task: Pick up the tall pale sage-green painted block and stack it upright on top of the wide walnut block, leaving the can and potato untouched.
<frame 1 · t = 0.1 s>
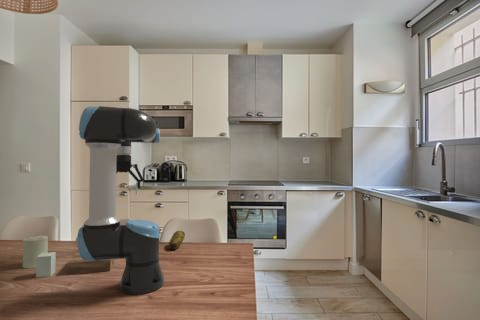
hand: (123, 195, 148), 28 cm above the table, tool pointing down, fingers open, 13 cm apart
sage block: (45, 274, 113), on the table
walnut block: (93, 266, 123), on the table
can: (35, 264, 125), on the table
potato: (176, 247, 152), on the table
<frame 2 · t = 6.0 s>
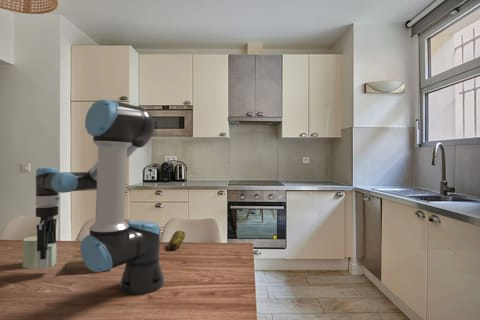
hand: (46, 264, 113), 4 cm above the table, tool pointing down, fingers closed on sage block, 5 cm apart
sage block: (46, 265, 113), point 4 cm above the table, touching gripper
everything else where it was.
when the fingers open (6 cm above the table, at t = 11.8 s): sage block stays where it is, point 4 cm above the table.
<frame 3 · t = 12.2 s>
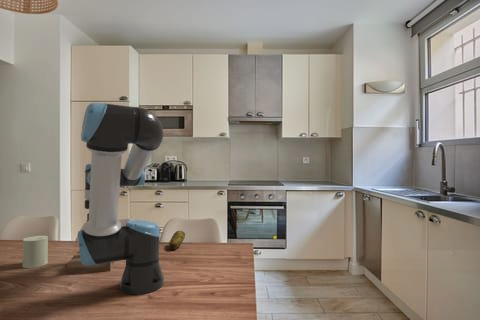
hand: (93, 249, 124), 7 cm above the table, tool pointing down, fingers open, 10 cm apart
sage block: (93, 255, 123), point 4 cm above the table
everything else where it was.
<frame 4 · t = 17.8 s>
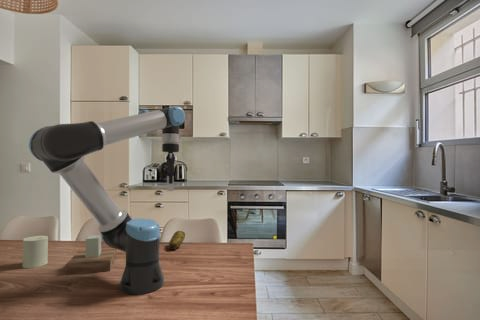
hand: (170, 189, 130), 33 cm above the table, tool pointing down, fingers open, 13 cm apart
sage block: (93, 255, 123), point 4 cm above the table, touching walnut block
walnut block: (93, 267, 123), on the table, touching sage block
everything else where it was.
at the end: sage block inside the target area on the walnut block (0.0 cm from its centre), point 5.0 cm above the walnut block's base; sage block tilted 0°; the gripper is holding nothing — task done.
